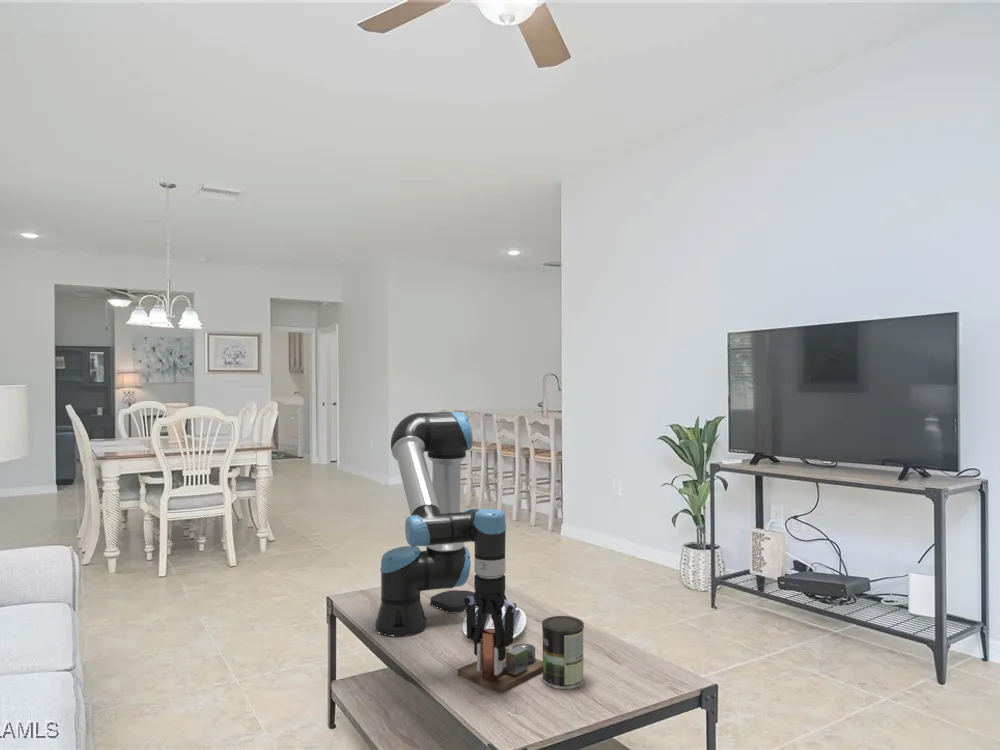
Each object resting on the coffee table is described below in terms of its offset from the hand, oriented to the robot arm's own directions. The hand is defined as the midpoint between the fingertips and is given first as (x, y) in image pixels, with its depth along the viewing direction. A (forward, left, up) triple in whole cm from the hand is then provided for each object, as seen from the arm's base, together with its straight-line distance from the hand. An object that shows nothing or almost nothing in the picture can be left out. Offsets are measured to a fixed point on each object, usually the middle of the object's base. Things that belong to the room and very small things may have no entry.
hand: (489, 670), depth 163 cm
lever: (0, +7, -2) cm, 8 cm away
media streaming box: (-50, +36, -4) cm, 62 cm away
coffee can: (+11, +14, -4) cm, 19 cm away
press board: (-3, +8, -4) cm, 9 cm away
